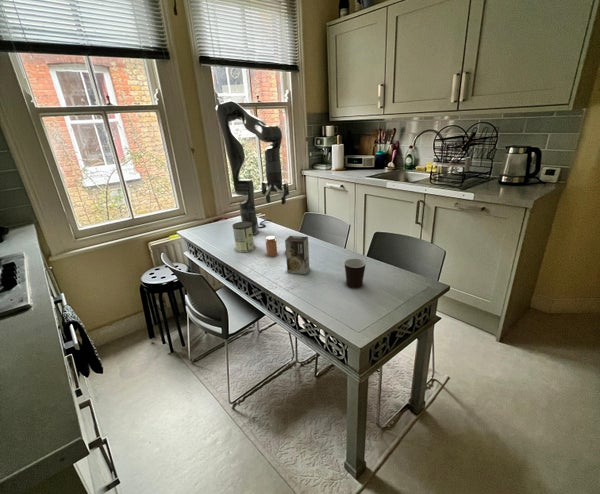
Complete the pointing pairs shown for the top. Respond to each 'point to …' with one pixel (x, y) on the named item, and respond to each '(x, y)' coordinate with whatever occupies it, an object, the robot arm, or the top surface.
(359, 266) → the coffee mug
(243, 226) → the coffee can
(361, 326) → the top surface
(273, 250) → the jar
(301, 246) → the coffee box
